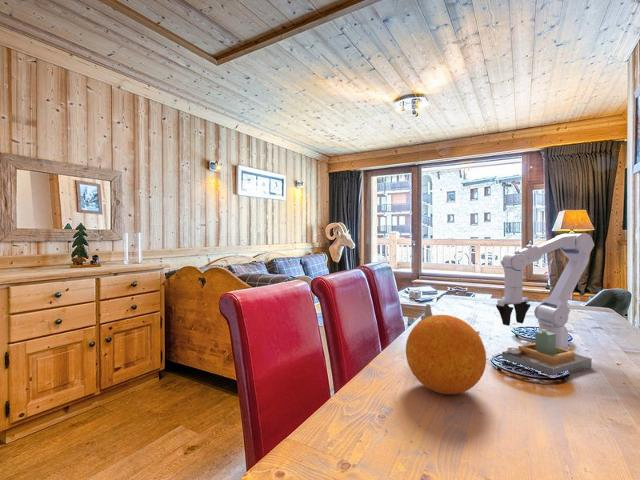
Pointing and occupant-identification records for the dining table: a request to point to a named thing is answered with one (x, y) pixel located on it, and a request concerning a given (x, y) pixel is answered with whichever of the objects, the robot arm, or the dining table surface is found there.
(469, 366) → the decorative sphere
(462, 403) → the dining table surface
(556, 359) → the grey framed base plate
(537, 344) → the spout tin
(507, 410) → the dining table surface
